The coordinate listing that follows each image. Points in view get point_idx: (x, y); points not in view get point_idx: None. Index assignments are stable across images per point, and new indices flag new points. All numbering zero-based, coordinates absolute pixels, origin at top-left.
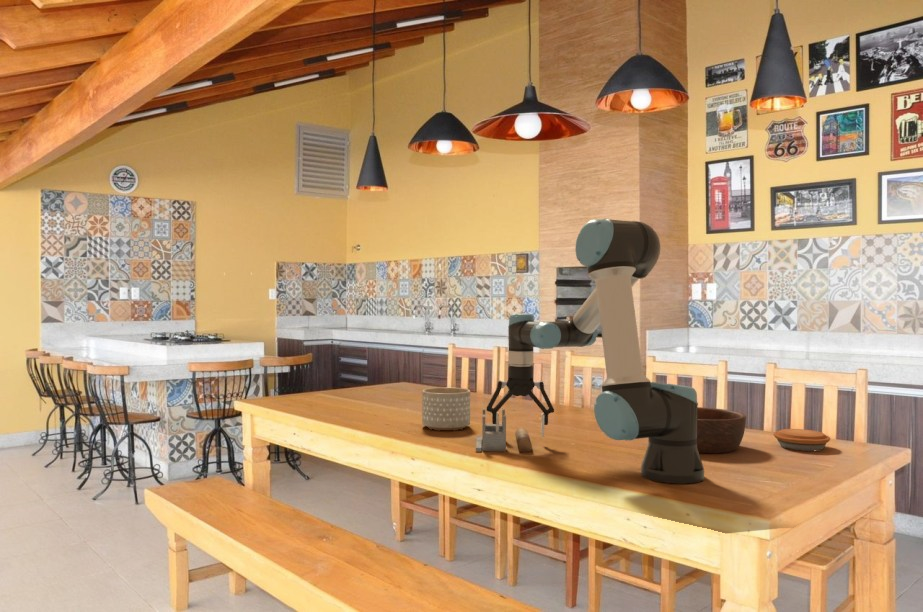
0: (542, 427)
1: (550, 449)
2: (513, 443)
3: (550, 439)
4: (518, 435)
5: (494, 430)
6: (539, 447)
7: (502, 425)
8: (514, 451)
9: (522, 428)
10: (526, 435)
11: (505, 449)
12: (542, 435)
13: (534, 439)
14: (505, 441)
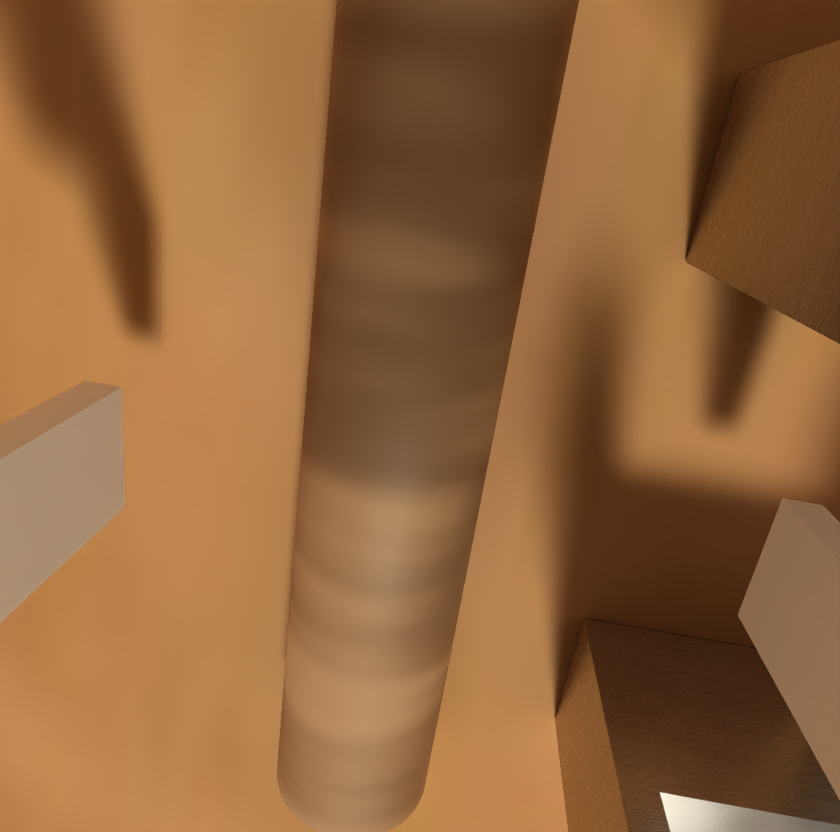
0: (18, 439)
1: (85, 163)
2: (494, 560)
3: (68, 682)
4: (460, 483)
5: (755, 756)
6: (216, 305)
7: (657, 801)
8: (607, 64)
9: (334, 799)
10: (353, 364)
11: (756, 70)
12: (100, 388)
13: (229, 705)
14: (814, 53)
